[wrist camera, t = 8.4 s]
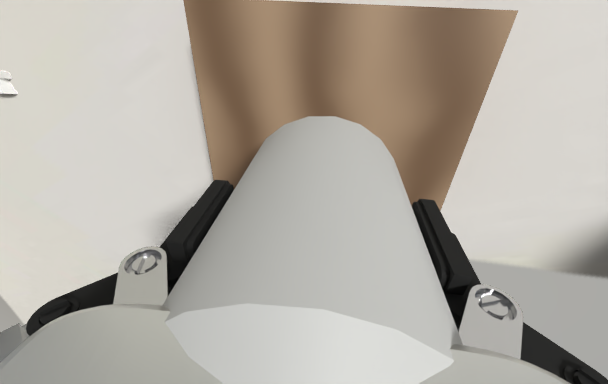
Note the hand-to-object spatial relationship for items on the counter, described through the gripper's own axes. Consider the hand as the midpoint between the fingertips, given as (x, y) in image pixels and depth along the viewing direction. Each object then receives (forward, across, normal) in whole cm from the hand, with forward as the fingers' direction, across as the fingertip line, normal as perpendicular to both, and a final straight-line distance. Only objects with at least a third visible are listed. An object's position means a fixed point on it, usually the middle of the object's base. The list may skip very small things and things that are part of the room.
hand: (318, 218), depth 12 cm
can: (+4, 0, 0) cm, 4 cm away
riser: (+14, 0, 0) cm, 14 cm away
